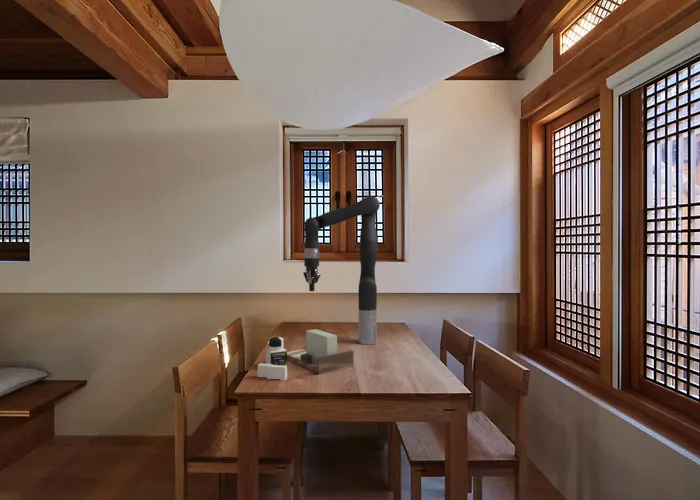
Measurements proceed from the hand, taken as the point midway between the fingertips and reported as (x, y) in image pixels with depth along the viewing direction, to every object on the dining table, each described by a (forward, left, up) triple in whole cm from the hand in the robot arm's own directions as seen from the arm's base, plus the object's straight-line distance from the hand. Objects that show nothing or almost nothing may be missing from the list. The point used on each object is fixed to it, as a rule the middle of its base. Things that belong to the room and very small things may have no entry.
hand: (311, 291), depth 216 cm
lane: (-7, +30, -27) cm, 41 cm away
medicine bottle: (+7, +39, -27) cm, 48 cm away
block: (-11, +35, -26) cm, 45 cm away
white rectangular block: (+4, +54, -28) cm, 60 cm away
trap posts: (-10, +33, -27) cm, 43 cm away
